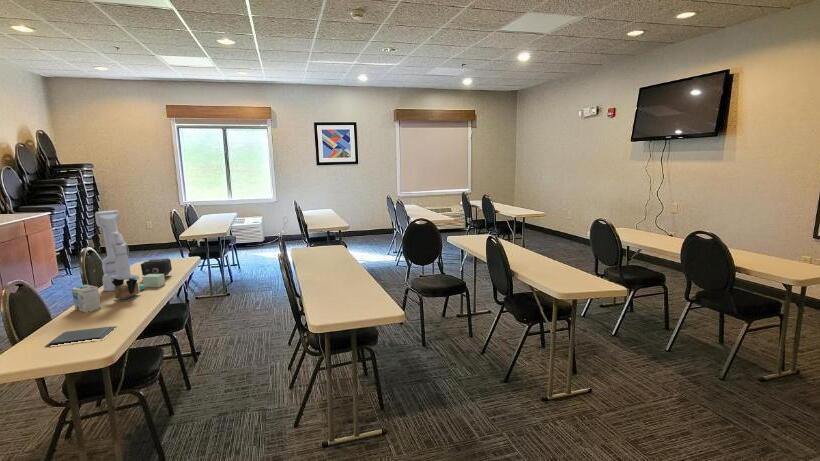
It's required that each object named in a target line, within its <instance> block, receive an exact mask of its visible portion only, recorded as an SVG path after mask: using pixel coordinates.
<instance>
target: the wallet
mask: <svg viewBox="0 0 820 461" xmlns="http://www.w3.org/2000/svg"><path fill="white" fill-rule="evenodd" d="M117 326H118V325H115V326H111V325H110V326H103V327H95V328H87V329H86V328H85V329H78V330H68V331H65V332H62V333H61V334H59V335H58V336H57V337H55V338H54V339H53V340H51V341H50V342H49V343H47V344H46V345H45V346H44V347H49V346H51V345H58V344H64V343H71V342H78V341H85V340H92V339H103V338H104V337H105V336H106V335H108V334H109V333H110V332H111V331H113V330H114V328H116V327H117ZM117 328H118V327H117ZM117 328H116V329H117ZM114 331H115V330H114ZM114 331H113V332H114ZM49 348H50V347H49Z"/></svg>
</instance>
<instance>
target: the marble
mask: <svg viewBox="0 0 820 461" xmlns="http://www.w3.org/2000/svg"><path fill="white" fill-rule="evenodd" d="M138 288H139V289H140V290H139V291H144V290H145V289H146V287H145V286H144V285H143V284H140V285H138Z"/></svg>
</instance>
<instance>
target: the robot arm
mask: <svg viewBox="0 0 820 461" xmlns="http://www.w3.org/2000/svg"><path fill="white" fill-rule="evenodd" d="M94 218H95V224H96V225H97V227H99V228H101V229H102V232H103V238H104V239H103V240H104V244H105V252H106V255H107V256H106V257H105V258H103V259H102V260H101V264H102V265H101V268H102V272H103V276H102V278H101V279H102V287H103V290H102V292H103V291H104V292H113V291H114V292H115V289H114V287H116V286H119V285H122V284H124V283H127V285H128V288H129V292H130V294H132V293H134V289H135V285H136V282H138V280H140V276H139V275H138V274H133V273H132V274H131V267H130V262H129V254H130V252H129V251H130V248H129V247H128V246H129V245H128V243H127V242H126V241H125V239H124V236H123V235H122V234H121V233H120V232H119V230H118V223H119V222H120V221H121V220H120V212H119V211H118V210H117V209H115V210H104V211H96V212H95V213H94ZM125 280H126V281H125Z"/></svg>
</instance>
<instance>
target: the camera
mask: <svg viewBox="0 0 820 461" xmlns="http://www.w3.org/2000/svg"><path fill="white" fill-rule="evenodd" d="M171 261H172V260H171V259H170V258H160V259H158V258H157V259H149V260H148V261H147V260H146V261H143V262H142V263H140V269H141V274H142V276H145V275H148V274H164V277H166V276H168V275H169V274H170V272H172V269H173V268H172V262H171Z"/></svg>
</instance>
